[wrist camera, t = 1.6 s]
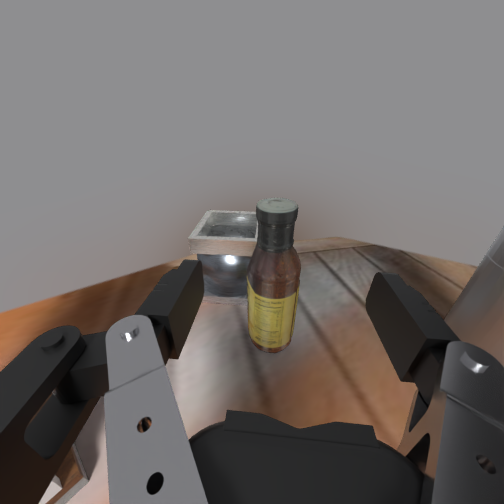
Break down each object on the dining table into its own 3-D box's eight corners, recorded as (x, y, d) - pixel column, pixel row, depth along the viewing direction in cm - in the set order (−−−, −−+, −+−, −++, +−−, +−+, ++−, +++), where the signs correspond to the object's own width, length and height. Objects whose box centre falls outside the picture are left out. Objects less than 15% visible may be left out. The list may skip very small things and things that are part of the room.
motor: (270, 265, 47) (273, 212, 41) (269, 306, 37) (274, 243, 31) (205, 262, 48) (199, 209, 42) (187, 301, 38) (175, 238, 32)
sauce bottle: (265, 313, 36) (271, 189, 26) (299, 333, 33) (323, 200, 22) (237, 340, 32) (232, 203, 21) (274, 367, 28) (290, 220, 18)
